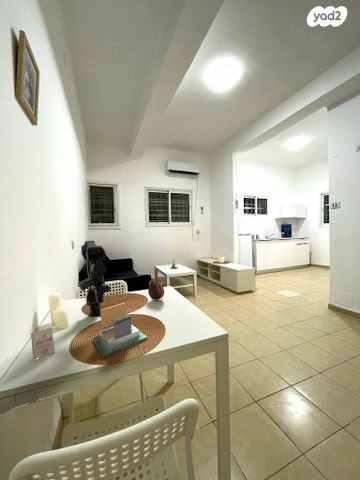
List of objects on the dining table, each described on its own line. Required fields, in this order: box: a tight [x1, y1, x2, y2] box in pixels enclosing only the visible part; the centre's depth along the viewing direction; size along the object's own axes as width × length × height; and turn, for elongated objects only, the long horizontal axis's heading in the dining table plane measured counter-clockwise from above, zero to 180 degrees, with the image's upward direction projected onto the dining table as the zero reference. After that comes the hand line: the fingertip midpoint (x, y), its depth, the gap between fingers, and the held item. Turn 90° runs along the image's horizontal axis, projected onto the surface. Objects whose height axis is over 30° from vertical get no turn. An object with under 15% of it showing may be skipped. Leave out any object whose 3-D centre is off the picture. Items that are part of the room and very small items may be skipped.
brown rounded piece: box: [147, 277, 165, 302], centre depth 130 cm, size 11×5×15 cm, turn 58°
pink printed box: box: [30, 326, 55, 361], centre depth 77 cm, size 4×7×10 cm, turn 126°
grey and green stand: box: [92, 314, 148, 359], centre depth 85 cm, size 16×18×11 cm
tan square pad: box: [100, 302, 127, 330], centre depth 88 cm, size 1×11×9 cm, turn 128°
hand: (99, 303), depth 97 cm, fingers closed
